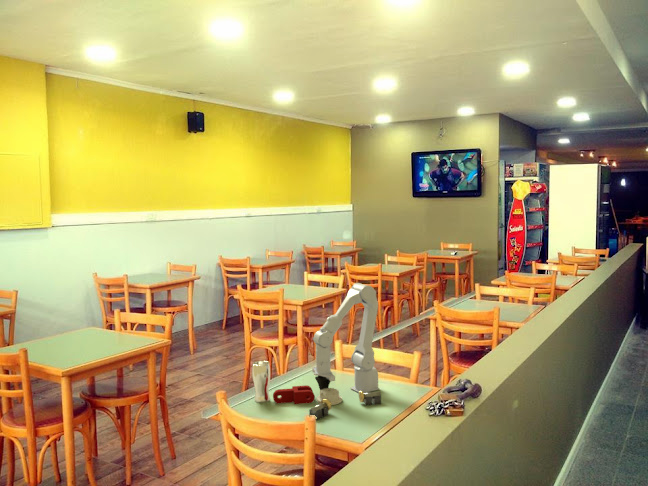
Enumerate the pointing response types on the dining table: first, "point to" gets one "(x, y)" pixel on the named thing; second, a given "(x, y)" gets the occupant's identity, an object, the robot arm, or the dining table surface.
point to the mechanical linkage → (294, 395)
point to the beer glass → (261, 380)
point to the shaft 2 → (370, 398)
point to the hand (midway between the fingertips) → (323, 394)
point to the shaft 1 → (321, 409)
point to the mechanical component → (330, 396)
